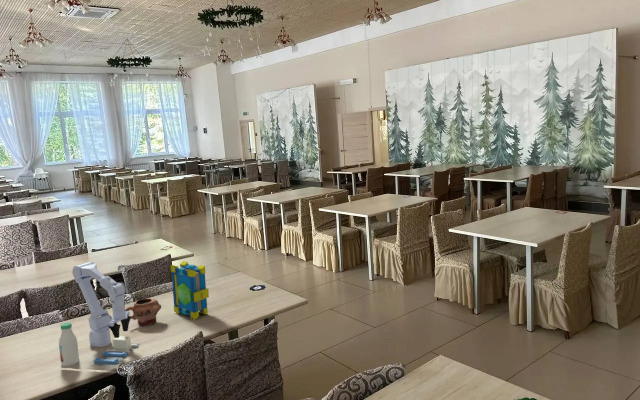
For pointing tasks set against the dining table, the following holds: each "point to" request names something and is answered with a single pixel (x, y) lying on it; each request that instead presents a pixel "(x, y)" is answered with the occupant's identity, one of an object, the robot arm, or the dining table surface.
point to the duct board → (113, 356)
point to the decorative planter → (145, 311)
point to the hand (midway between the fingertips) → (121, 334)
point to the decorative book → (189, 289)
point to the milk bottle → (68, 346)
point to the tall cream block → (122, 343)
